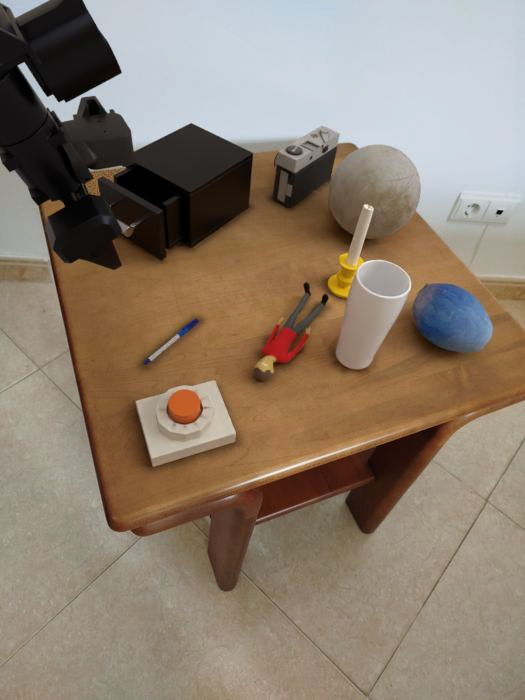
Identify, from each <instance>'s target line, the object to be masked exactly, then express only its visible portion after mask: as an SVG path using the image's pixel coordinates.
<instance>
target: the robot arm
mask: <svg viewBox="0 0 525 700" xmlns="http://www.w3.org/2000/svg"><path fill="white" fill-rule="evenodd" d="M23 63H24V64H25V65H26V67H27V69H28V70H29V72H30V73H31V75H32V76H33V78H34V80H35V81H36V82H37V84H38V86H39V87H40V89H41V90H42V92H43V94H45V96H46V97H47V98H49V97H51V96H53V97H54V98H55V100H56V101H57V102H58V103H61V102H62V101H64V102H65V103H69V102H70V101H73V100H74V99H76V98H78V97H80V96H82V95H84V94H86V93H88V92H89V91H91V90H93V89H95V88H97V87H99V86H101V85H103V84H105V83H106V82H108V81H110V80H112V79H114V78H116V77H117V76H119V75H121V74H123V72H122V68H121V66H120V64H119V62H118V59H117V57H116V55H115V53H114V51H113V49H112V47H111V44H110V43H109V41H108V40H107V38H106V37H105V36H104V34H103V32H101V30H100V29H99V27H98V25H97V24H96V22H95V20H94V18H93V16H92V15H91V12H90V11H89V9H88V7H87V6H86V4H85V2H84V0H47V1H45V2H43V3H41V4H40V5H38V6H36V7H34V8H31V9H30V10H27V11H26V12H24V13H22V14H20V15H18V16H16V17H15V15H14V13H13V11H12V9H11V8H10V6H7V5H6V4H4V3H2V2H0V161H1V165H3V166H4V168H6V170H7V171H8V172H9V173H12V172H15V173H16V175H17V176H18V177H19V178H20V180H22V182H23V183H24V184H25V185H26V187H27V190H28V193H29V194H30V198H31V200H32V201H33V202H34V203H35V204H36V206H37V207H39V206H41V205H43V204H45V203H46V202H48V201H51V202H57V201H60V202H61V203H62V204H63V207H62V208H60V209H58V210H57V211H55V212H52V213H51V214H49V215H48V216H46V217H47V218H46V221H45V225H44V229H45V230H44V231H45V233H46V236H47V239H48V242H49V244H50V246H51V249H52V251H53V252H54V253H55V254H56V256H57V257H59V259H60V260H61V261H62V262H63V263H65V264H73V263H74V262H76V261H78V260H81V261H86V262H89V263H92V264H95V265H97V266H101V267H104V268H107V269H109V270H112V271H116V270H117V269H120V268H121V267H122V266H123V263H122V261H121V259H120V257H119V254H118V252H117V249H116V247H115V244H114V242H113V241H114V240H116V239H118V238H120V237H121V236H120V234H121V232H122V229H121V227H120V225H119V223H118V221H117V219H116V217H115V215H114V213H113V212H112V210H111V208H110V207H109V205H108V203H107V202H106V200H105V199H104V197H103V196H100V195H98V194H93V193H90V192H89V190H88V188H87V185H86V184H87V183H89V182H91V181H93V180H95V177H94V176H93V175H94V174H93V173H92V172H91V170H93V171H99V170H104V169H109V168H110V169H111V168H117V167H122V168H126V167H127V166H131V165H133V164H134V163H135V157H134V151H135V150H134V142H133V135H132V130H131V128H130V126H129V125H128V123H127V122H126V120H125V119H124V117H123V116H122V114H120V113H117V112H116V111H115V110H114V109H113V108H111V109H109V112H107V110H106V108H105V107H104V106H103V105H102V103H101V102H100V100H99V99H98V97H97V96H96V95H88V96H82V97H81V98H80V100H79V104H78V108H77V111H76V113H74V114H72V119H70V120H64V121H62V120H61V118H59V116H58V114H57V113H56V111H55V110H52V111H51V110H50V108H49V107H46V106H45V104H44V103H43V101H42V99H41V98H40V96H39V95H38V94H37V92H36V90H35V89H34V87H33V86H32V85H31V83H30V82H29V80H28V79H27V77H26V76H25V74H24V73H23V71H22V69H21V68H20V67H19V66H20V65H22V64H23Z"/></svg>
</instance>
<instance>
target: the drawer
mask: <svg viewBox="0 0 525 700" xmlns="http://www.w3.org/2000/svg"><path fill="white" fill-rule="evenodd" d="M112 177H113V180H111V179H109V178H107V177H106V176H104V175H102V176H100V177H98V178H97V179H96V180H97V181H96V182H97V185H98V192H99V196H103V197H104V199H105V200H106V202H107V203H108V205H109V207H110V208H111V210H112V212H113V213H114V215H115V217H116V219H117V221H118V223H119V225H120V227H121V229H122V232H121V234H120V236H119V237H122V238H124V239H125V240H127V241H129V243H131V244H133V245H135V246H136V247H137V248H140V249H141V250H143V251H144V252H146V253H148V254H149V255H151V256H152V257H154V258H156V259H157V260H159V261H160V262H163V260H165V259H166V258H167V250H168V251H169V250H171V249H173V248H174V247H175V246H177V245H178V244H180V243H181V241H183V240H184V239H186V238H187V210H186V194H185V193H183V192H181V191H179V190H177V189H176V188H174V187H172V186H170V185H168V184H166V183H165V182H163V181H161V180H159V179H157V178H155V177H154V176H152V175H150V174H148V173H146V172H144V171H143V170H141V169H139V168H137V167H135V166H133V165H132V166H130V167H128V168H126V167H125V168H124V169H122V170H120V171H119V172H117V173H115V174H113V176H112Z"/></svg>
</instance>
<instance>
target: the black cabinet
mask: <svg viewBox="0 0 525 700" xmlns="http://www.w3.org/2000/svg"><path fill="white" fill-rule="evenodd" d="M134 157H135V163H134V164H133V166H135V167H137V168H139V169H141V170H143V171H144V172H146V173H148V174H150V175H152V176H154V177H155V178H157V179H159V180H161V181H163V182H165V183H166V184H168V185H170V186H172V187H174V188H176V189H177V190H179V191H181V192H183V193H185V194H186V210H187V238H186V239H184V240H183V241H181V242H180V243H181V244H183V245H185V246H187V247H188V248H190V249H192V248H194V247H196V246H197V245H199V243H201V242H202V241H204V240H205V239H207V238H208V237H209V236H210V235H211V236H212V234H213V233H215V232H217V230H219V229H221V228H223V226H225V225H227V223H229V222H230V221H232V220H233V219H234V218H236V217H237V216H240V214H241V213H243V212H244V211H246V210H248V209H249V208H250V198H251V197H250V196H251V185H252V173H253V163H254V162H253V161H254V152H252V151H250V150H248V149H246V148H244V147H242V146H240V145H238V144H235V143H234V142H232V141H229V140H228V139H225V138H223V137H222V136H219V135H217V134H215V133H213V132H211V131H210V130H206V129H204V128H203V127H201V126H198V125H197V124H194V123H192V122H190V123H189V124H186V125H184V126H182V127H180V128H178V129H176V130H174V131H172V132H170V133H168V134H166V135H164V136H162V137H160V138H158V139H156V140H154V141H152V142H150V143H148V144H146V145H144V146H141V147H140V148H138V149H136V150H134ZM131 166H132V165H131ZM128 167H130V166H127V167H125V169H126V168H128Z"/></svg>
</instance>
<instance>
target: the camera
mask: <svg viewBox="0 0 525 700" xmlns="http://www.w3.org/2000/svg"><path fill="white" fill-rule="evenodd" d="M340 135H341V133H340V132H338V131H336V130H333V129H331V128H329V127H327V126H325V125H320V126H319V127H317V128H315V129H313V130H312V131H310V132H308V133H306V134H305V135H303V136H302V137H300V138H298V139H297V140H295V141H293V142H292V143H290V144H288V145H287V146H285V147H283V148H281V149H279V150H278V152H277V153H276V155H275V156H274V160H273V167H274V168H275V169H274V170H275V176H274V185H273V191H272V200H273V201H275V202H276V203H278V204H279V205H282V206H284V207H286V208H287V209H288V208H290V207H293V206H294V205H295V204H297V203H298V202H300V201H301V200H303V199H304V198H305V197H306V196H308V195H309V194H311V193H313V191H315V190H317V189H318V188H319V187H321V186H322V185H324V184H325V183H327V182H328V181H329V180H331V179H332V175H333V174H332V173H333V169H334V165H335V160H336V155H337V152H338V144H339V139H340Z"/></svg>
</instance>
